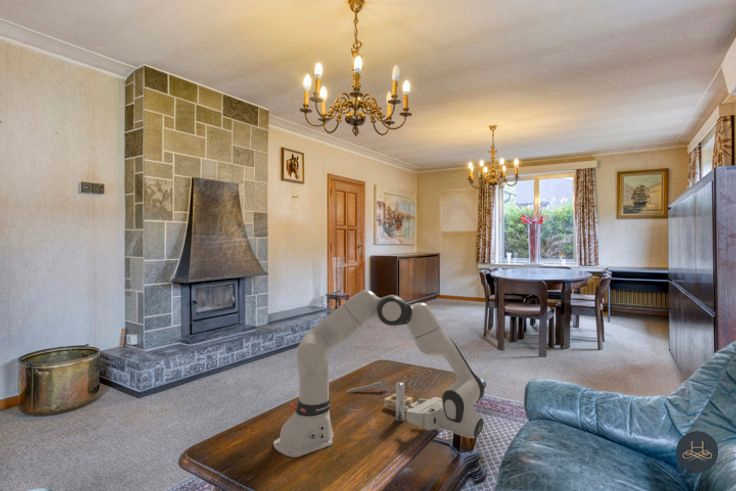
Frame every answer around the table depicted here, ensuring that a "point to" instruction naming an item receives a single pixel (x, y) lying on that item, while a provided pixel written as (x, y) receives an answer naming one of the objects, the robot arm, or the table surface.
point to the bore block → (391, 402)
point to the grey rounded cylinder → (400, 401)
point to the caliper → (374, 385)
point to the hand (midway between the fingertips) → (411, 404)
